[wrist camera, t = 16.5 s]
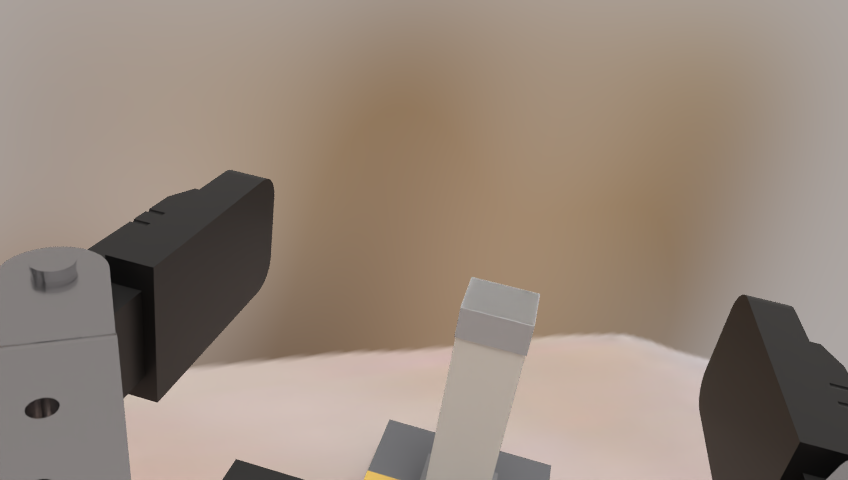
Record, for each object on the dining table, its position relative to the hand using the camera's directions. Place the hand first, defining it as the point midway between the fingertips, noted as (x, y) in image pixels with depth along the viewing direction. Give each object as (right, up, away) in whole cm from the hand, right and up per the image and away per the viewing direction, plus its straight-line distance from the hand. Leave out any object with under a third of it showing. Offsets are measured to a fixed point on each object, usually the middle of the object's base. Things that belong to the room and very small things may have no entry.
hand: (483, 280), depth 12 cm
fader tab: (+1, -13, +26) cm, 29 cm away
